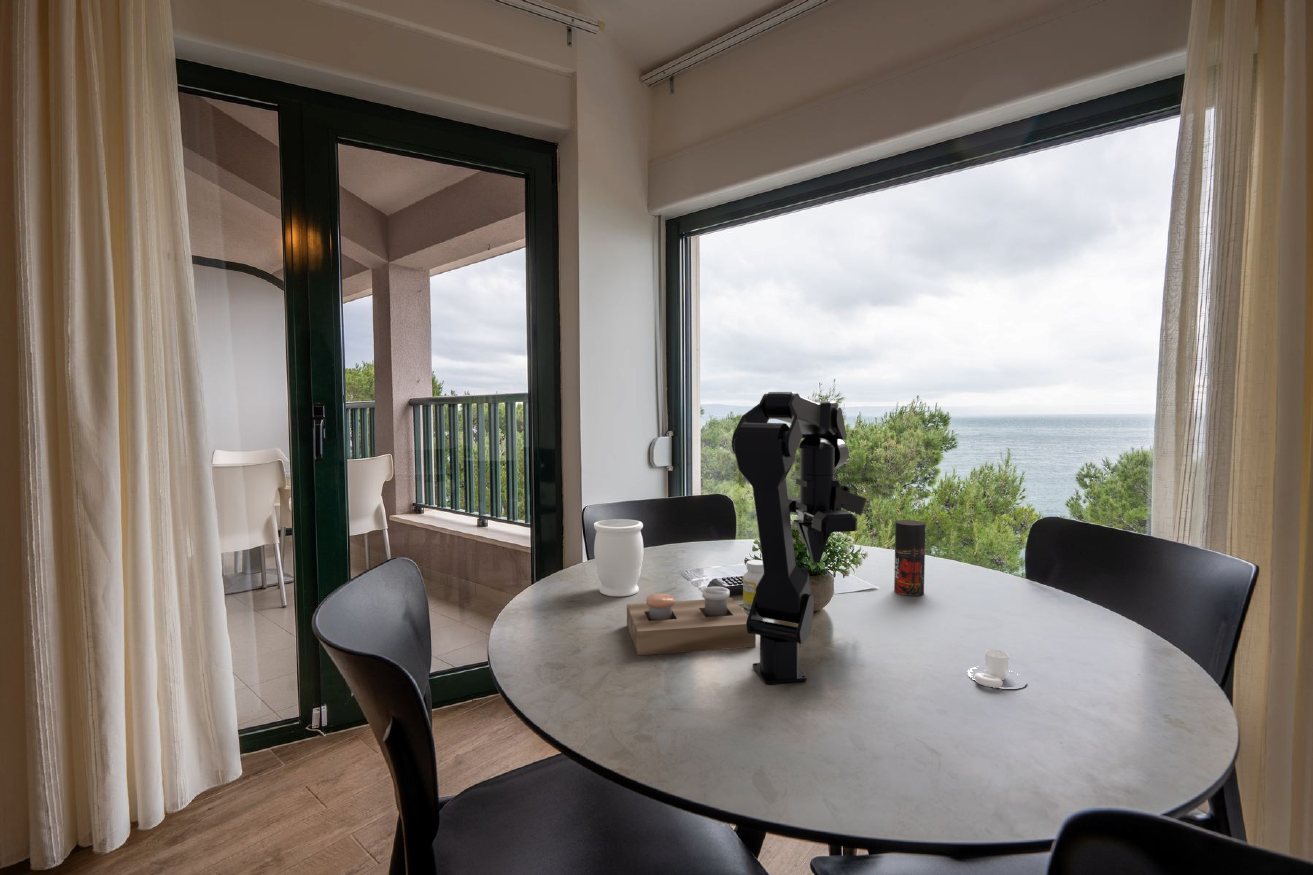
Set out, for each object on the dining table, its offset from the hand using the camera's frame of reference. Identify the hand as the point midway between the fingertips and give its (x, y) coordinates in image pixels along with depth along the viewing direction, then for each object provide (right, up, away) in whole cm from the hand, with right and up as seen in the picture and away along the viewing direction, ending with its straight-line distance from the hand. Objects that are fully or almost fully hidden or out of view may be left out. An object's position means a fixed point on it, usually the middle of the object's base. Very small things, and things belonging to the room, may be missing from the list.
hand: (816, 562), depth 113 cm
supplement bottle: (-8, -12, +14) cm, 20 cm away
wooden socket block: (-22, -13, +1) cm, 26 cm away
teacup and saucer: (+20, -15, -16) cm, 29 cm away
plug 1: (-27, -10, 0) cm, 29 cm away
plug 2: (-17, -9, +2) cm, 20 cm away
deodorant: (+26, -12, +26) cm, 38 cm away
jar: (-36, -12, +27) cm, 46 cm away
